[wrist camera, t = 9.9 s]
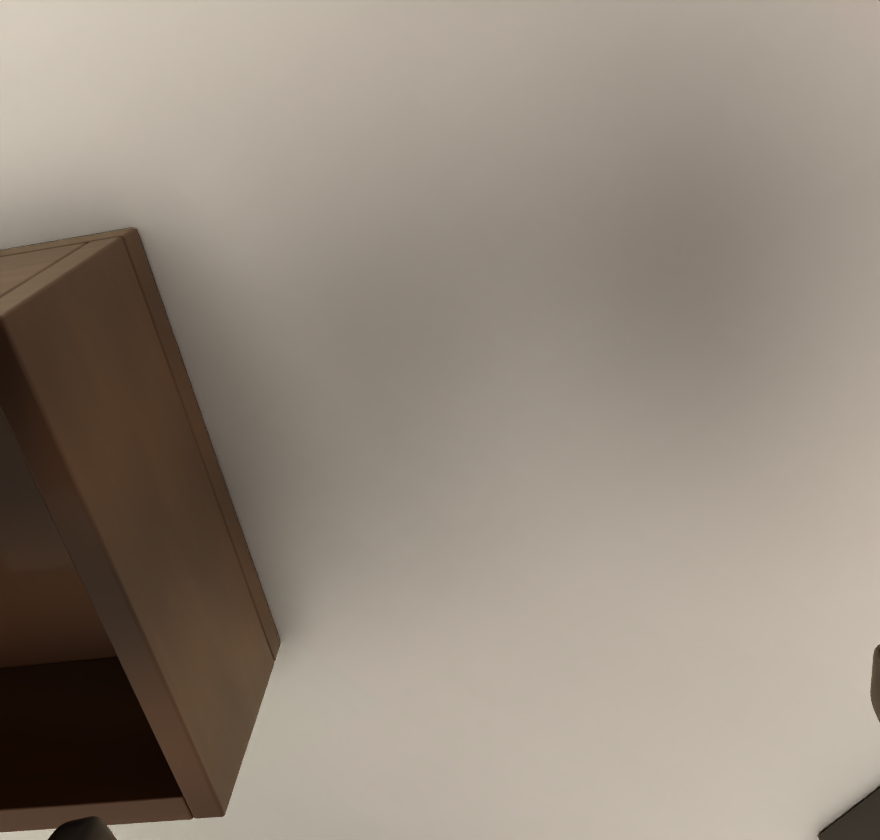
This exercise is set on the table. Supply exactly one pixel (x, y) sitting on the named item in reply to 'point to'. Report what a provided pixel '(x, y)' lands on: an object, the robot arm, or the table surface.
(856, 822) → the control block
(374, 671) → the table surface
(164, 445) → the open wooden crate
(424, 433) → the table surface
